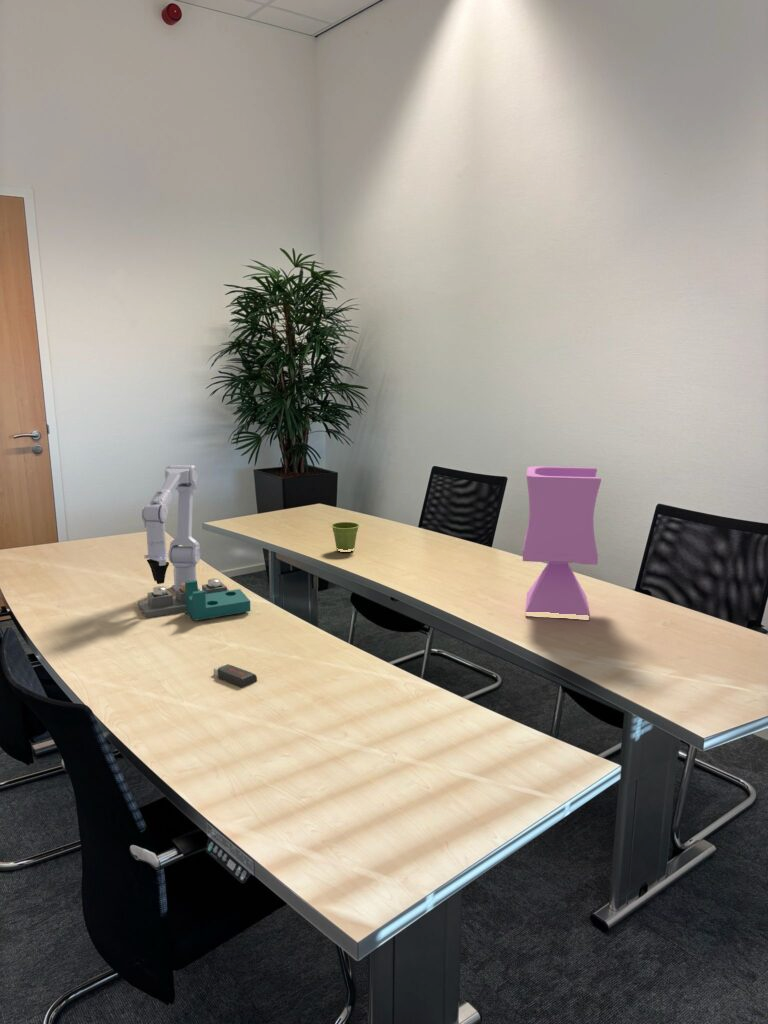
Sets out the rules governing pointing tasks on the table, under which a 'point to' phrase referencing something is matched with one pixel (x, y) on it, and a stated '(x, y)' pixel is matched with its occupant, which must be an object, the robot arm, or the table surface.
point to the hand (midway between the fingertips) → (159, 581)
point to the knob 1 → (159, 591)
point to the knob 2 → (213, 583)
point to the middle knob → (183, 587)
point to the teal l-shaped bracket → (213, 602)
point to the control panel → (171, 601)
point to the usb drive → (235, 675)
